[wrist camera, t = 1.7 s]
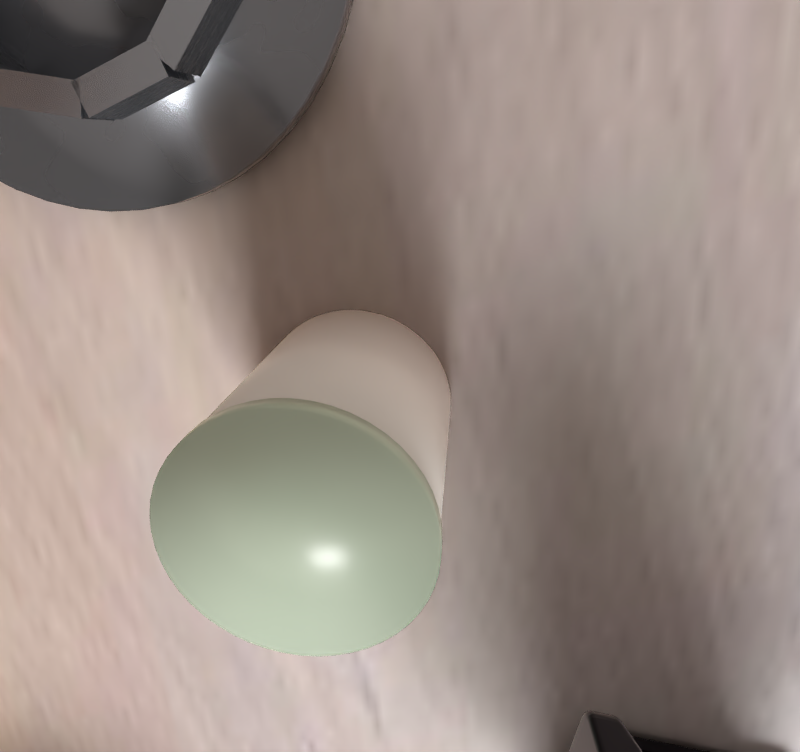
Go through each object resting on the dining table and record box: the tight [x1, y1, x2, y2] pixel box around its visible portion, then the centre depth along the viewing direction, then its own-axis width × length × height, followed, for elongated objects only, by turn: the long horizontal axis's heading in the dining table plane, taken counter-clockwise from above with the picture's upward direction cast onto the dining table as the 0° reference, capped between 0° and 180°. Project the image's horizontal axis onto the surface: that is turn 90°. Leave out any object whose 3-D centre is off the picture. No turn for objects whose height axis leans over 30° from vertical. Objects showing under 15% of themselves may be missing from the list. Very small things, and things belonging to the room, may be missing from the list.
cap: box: [150, 310, 451, 656], centre depth 13 cm, size 5×5×6 cm
